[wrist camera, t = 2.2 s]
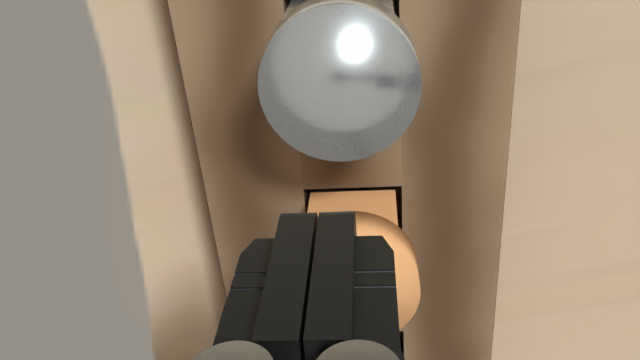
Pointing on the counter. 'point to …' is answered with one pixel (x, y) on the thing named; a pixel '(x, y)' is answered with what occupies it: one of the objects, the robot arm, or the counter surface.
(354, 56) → the knob
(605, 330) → the counter surface
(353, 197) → the knob mid
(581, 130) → the counter surface
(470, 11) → the knob mount
